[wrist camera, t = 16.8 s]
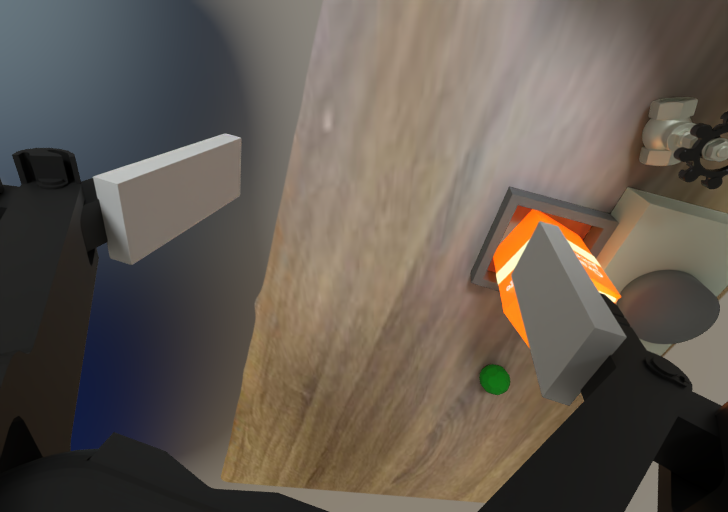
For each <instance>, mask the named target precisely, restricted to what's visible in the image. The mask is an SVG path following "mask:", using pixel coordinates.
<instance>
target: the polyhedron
mask: <svg viewBox="0 0 728 512" xmlns="http://www.w3.org/2000/svg"><path fill="white" fill-rule="evenodd" d="M479 378H480V384H481V385H482V386H483V388H484V389H485V390H486V391H487V392H488V393H491V394H495V395H500V394H502V393H504V392H506V391H507V390H508V388H509V386H510V377H509V374H508V373H507V372H506V371H505V370H504V369H503V367H501V366H498V365H493V364H491V365H488V366H486V367H484V368H483V369H482V371H481V373H480V377H479Z"/></svg>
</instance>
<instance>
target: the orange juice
mask: <svg viewBox="0 0 728 512" xmlns="http://www.w3.org/2000/svg"><path fill="white" fill-rule="evenodd" d="M539 221H542V222H545V223H549V224H552V225H556V226H559V228H560V230H561V231H562V233H563V235H564V236H565V238H566V239H567V241H568V243H569V244H570V246H571V248H572V249H573V251H574V252H575V254H576V256H577V257H578V259H579V261H580V262H581V264H582V265H583V267H584V269H585V270H586V272H587V273H588V275H589V277H590V278H591V280H592V282H593V283H594V285H595V286H596V288H597V290H598V291H599V293H602V294H605V295H606V296H607V297H608V298H609V299H611V300H612V301H613V302H614V303H616V301H617V300H618V299H619V298H620V297H621V295H620V294H619V292H618V291H617V290H616V288H615V287H614V285H613V284H612V282H611V281H610V280H609V278H608V277H607V275H606V274H605V272H604V271H603V270H602V268H601V266H600V264H599V263H598V262H597V260H596V259H595V257H594V256H593V255H592V254H591V252H590V251H589V249H588V248H587V247H586V245H585V244H584V242H583V241H582V239H581V238H580V237H579V235H577V234H575V233H574V232H572V231H571V230H569V229H568V228H566V227H564V226H563V225H561V224H560V223H558V222H556V221H555V220H553V219H552V218H550V217H548V216H547V215H545V214H544V213H542V212H540V211H538V210H534V209H532V210H531V211H530V212H529V214H528V215H527V216H526V217H525V218H524V219H523V220H522V221H521V222H520V223H519V224H518V226H517V227H516V228H515V229H514V230H513V231H512V232H511V233H510V234H509V235H508V236H507V238H506V239H505V240H504V241H503V242H502V243H501V244H500V245H499V246H498V248H497V250H496V252H495V254H494V256H493V259H494V264H495V270H496V277H497V282H498V285H499V290H500V296H501V301H502V306H503V312H504V314H505V315H506V316H507V318H508V319H509V320H510V322H511V323H512V324H513V326H514V327H515V329H516V330H517V331H518V333H519V334H520V336H521V337H522V338H523V340H524V341H525V343H526V344H527V345H528V347H529V343H528V339H527V335H526V332H525V328H524V324H523V320H522V316H521V312H520V308H519V304H518V301H517V297H516V293H515V289H514V285H513V281H512V277H511V274H512V272H513V270H514V268H515V267H516V265H517V263H518V261H519V259H520V257H521V255H522V253H523V251H524V249H525V248H526V246H527V244H528V242H529V240H530V238H531V236H532V234H533V232H534V230H535V228H536V227H537V225H538V223H539ZM529 348H530V347H529Z"/></svg>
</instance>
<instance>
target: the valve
mask: <svg viewBox="0 0 728 512" xmlns="http://www.w3.org/2000/svg"><path fill="white" fill-rule="evenodd" d="M697 102H698V100H697V99H696V98H693V97H674V98H664V99H658V100H655V101H653V102H651V106H650V111H649V116H648V117H650V118H651V119H650V120H649V121H648V122H647V124H646V125H645V127H644V130H643V133H642V140H643V143H644V145H645V146H644V147H642V148H641V153H640V157H639V161H640V162H641V163H643V164H646V165H652V166H668V165H674V164H677V163H679V162H681V161H682V162H686V164H687V165H688V166H689V167H690V168H689V169H687V170H681V171H680V172H679V174H678V176H679V178H680V179H682V180H684V181H686V182H692V181H694V180H696V179H697V178H698V176H700V175H703V176H706V180H701V184H702V185H703V186H705V187H707V188H709V189H716V188H718V187H719V186H720V185H721V184H722V178H723V177H724V176H725V175H728V166H726V167H723V168H720V169H714V170H709V169H705V168H704V167H703V166H702V165H701V163H700V157H701V158H704V159H706V160H709V161H718V162H721V161H724V160H726V159H728V139H725V138H722V137H720V135H721V134H723V133H727V132H728V111H727V112H725V113H724V114H723V115H722V116H721V118H720V119H724V120H723V124H718V125H716V126H715V127H714V128H713V129H712V127H711V126H710V125H707V124H703V123H698V124H695V123H692V120H691V118H690V116H694V113H695V109H696V106H697Z"/></svg>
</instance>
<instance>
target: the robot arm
mask: <svg viewBox="0 0 728 512" xmlns="http://www.w3.org/2000/svg"><path fill="white" fill-rule="evenodd" d="M12 156H13V159H14V162H15V165H16V168H17V171H18V174H19V177H20V181H21V186H20V187H17V186H9V185H2V182H1V180H0V512H328V511H326V510H323V509H320V508H317V507H315V506H312V505H309V504H306V503H304V502H301V501H298V500H296V499H293V498H290V497H288V496H285V495H282V494H280V493H273V492H257V491H256V492H255V491H240V490H223V489H213V488H211V487H209V486H207V485H206V484H204V483H203V482H202V481H201V480H199V479H198V478H197V477H196V476H195V475H194V474H192V473H191V472H190V471H189V470H188V469H186V468H185V467H184V466H183V465H181V464H180V463H179V462H178V461H177V460H175V459H174V458H173V457H172V456H170V455H169V454H168V453H167V452H166V451H163V450H161V449H158V448H155V447H152V446H150V445H147V444H144V443H142V442H139V441H136V440H133V439H131V438H128V437H125V436H123V435H120V434H117V433H113V434H112V435H111V436H110V437H109V438H108V439H107V440H106V441H105V443H104V444H103V445H102V446H101V447H100V448H99V449H88V450H76V451H70V443H71V434H72V427H73V421H74V415H75V408H76V402H77V395H78V388H79V382H80V376H81V369H82V363H83V356H84V350H85V343H86V337H87V330H88V324H89V317H90V311H91V304H92V298H93V291H94V285H95V278H96V271H97V265H98V259H99V257H98V253H97V249H96V247H98V246H100V245H102V244H104V243H106V242H107V245H108V250H109V255H110V258H111V259H115V260H118V261H121V262H124V263H127V264H130V265H132V264H134V263H135V262H137V261H139V260H140V259H142V258H143V257H145V256H146V255H148V254H149V253H151V252H153V251H154V250H156V249H157V248H159V247H161V246H162V245H164V244H165V243H167V242H168V241H170V240H172V239H173V238H175V237H176V236H178V235H179V234H181V233H183V232H184V231H186V230H187V229H189V228H190V227H192V226H193V225H195V224H196V223H198V222H200V221H201V220H203V219H204V218H206V217H208V216H209V215H211V214H212V213H214V212H215V211H217V210H218V209H220V208H222V207H223V206H225V205H226V204H228V203H229V202H231V201H233V200H234V199H236V198H237V197H239V196H240V178H241V174H240V173H241V138H240V137H236V136H232V135H229V134H222V135H219V136H216V137H213V138H210V139H207V140H204V141H201V142H198V143H195V144H191V145H188V146H185V147H182V148H179V149H176V150H173V151H170V152H167V153H164V154H161V155H158V156H155V157H152V158H149V159H146V160H142V161H139V162H136V163H133V164H130V165H127V166H124V167H121V168H118V169H115V170H112V171H109V172H106V173H103V174H100V175H97V176H94V177H93V178H91V179H88V180H85V181H82V182H81V180H80V176H79V172H78V168H77V163H76V159H75V155H74V154H73V153H71V152H69V151H66V150H62V149H53V148H33V149H25V150H21V151H18V152H16V153H14V154H13V155H12ZM511 277H512V281H513V285H514V289H515V293H516V297H517V301H518V304H519V308H520V312H521V316H522V320H523V324H524V328H525V332H526V335H527V339H528V343H529V347H530V351H531V355H532V359H533V363H534V366H535V370H536V374H537V378H538V382H539V386H540V390H541V393H542V397H543V398H547V399H550V400H553V401H556V402H559V403H562V404H565V405H568V406H570V404H571V403H572V402H573V401H574V400H575V398H576V397H577V396H578V395H579V394H580V392H581V393H582V396H583V399H584V402H583V403H582V404H581V405H580V406H579V407H578V408H577V409H576V410H575V411H574V412H573V413H572V414H571V415H570V417H569V418H568V419H567V420H566V421H565V422H564V423H563V424H562V425H561V426H560V427H559V428H558V429H557V430H556V431H555V432H554V433H553V434H552V435H551V436H550V437H549V438H548V439H547V440H546V441H545V442H544V443H543V444H542V446H541V447H540V448H539V449H538V450H537V451H536V452H535V453H534V454H533V455H532V456H531V457H530V458H529V459H528V460H527V461H526V462H525V463H524V464H523V465H522V466H521V467H520V468H519V469H518V470H517V471H516V472H515V473H514V475H513V476H512V477H511V478H510V479H509V480H508V481H507V482H506V483H505V484H504V485H503V486H502V487H501V488H500V489H499V490H498V491H497V492H496V493H495V494H494V495H493V496H492V497H491V498H490V499H489V500H488V501H487V503H486V504H485V505H484V506H483V507H482V508H481V509H480V510H479V511H478V512H624V511H625V510H626V507H627V506H628V504H629V502H630V501H631V499H632V497H633V495H634V493H635V492H636V490H637V488H638V486H639V485H640V483H641V481H642V479H643V478H644V476H645V474H646V472H647V470H648V468H649V467H650V465H651V463H652V461H655V462H656V463H658V464H659V469H658V471H659V472H658V512H728V402H726V403H725V404H724V405H723V406H721V405H718V404H717V403H715V402H713V401H711V400H709V399H707V398H705V397H703V396H701V395H698V394H696V393H694V392H692V384H691V382H690V380H689V379H688V377H687V376H686V375H685V374H684V373H683V372H682V371H681V370H680V369H679V368H678V367H677V366H675V365H674V364H673V363H671V362H670V361H668V360H667V359H665V358H663V357H661V356H659V355H658V354H655V353H652V352H650V351H647V350H646V348H645V347H644V345H643V344H642V342H641V341H640V339H639V338H638V336H637V335H636V333H635V332H634V330H633V329H632V327H630V324H629V323H628V321H627V319H626V318H624V315H623V313H622V312H621V310H620V309H619V307H618V306H617V305H616V304H615V303H614V302H613V301H612V300H611V299H609V298H608V297H607V296H606V295H605V294H602V293H599V291H598V290H597V288H596V286H595V285H594V283H593V282H592V280H591V278H590V277H589V275H588V273H587V272H586V270H585V269H584V267H583V265H582V264H581V262H580V261H579V259H578V257H577V256H576V254H575V252H574V251H573V249H572V248H571V246H570V244H569V243H568V241H567V239H566V238H565V236H564V235H563V233H562V231H561V230H560V228H559V226H556V225H552V224H549V223H545V222H542V221H539V223H538V225H537V227H536V228H535V230H534V232H533V234H532V236H531V238H530V240H529V242H528V244H527V246H526V248H525V249H524V251H523V253H522V255H521V257H520V259H519V261H518V263H517V265H516V267H515V268H514V270H513V272H512V274H511Z"/></svg>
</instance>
